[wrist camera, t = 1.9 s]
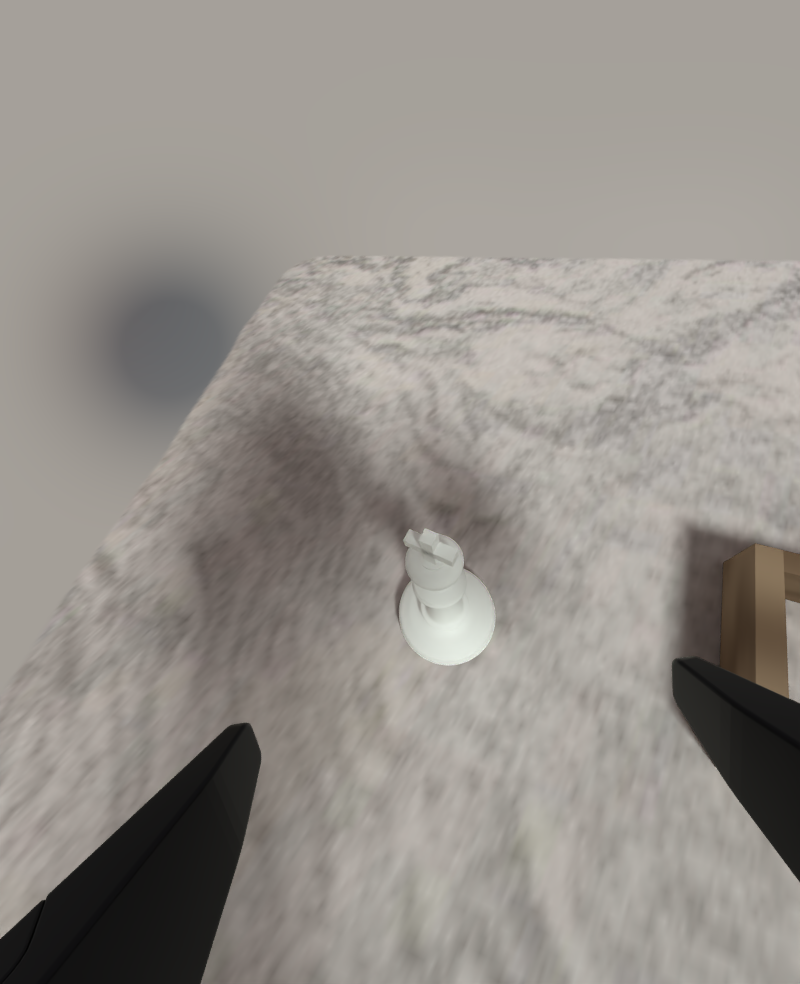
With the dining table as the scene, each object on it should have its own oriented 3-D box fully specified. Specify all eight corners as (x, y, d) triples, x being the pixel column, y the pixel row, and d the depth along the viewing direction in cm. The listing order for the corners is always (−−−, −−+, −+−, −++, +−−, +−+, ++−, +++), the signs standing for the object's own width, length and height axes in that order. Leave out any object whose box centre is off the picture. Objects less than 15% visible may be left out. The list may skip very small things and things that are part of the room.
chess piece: (425, 553, 22) (395, 448, 13) (509, 591, 20) (539, 498, 11) (382, 635, 20) (316, 575, 11) (472, 685, 18) (473, 658, 10)
